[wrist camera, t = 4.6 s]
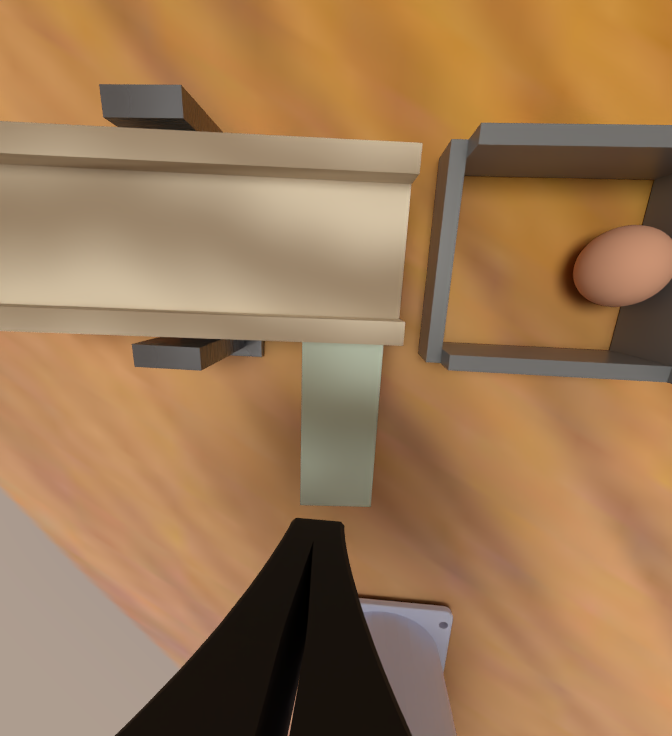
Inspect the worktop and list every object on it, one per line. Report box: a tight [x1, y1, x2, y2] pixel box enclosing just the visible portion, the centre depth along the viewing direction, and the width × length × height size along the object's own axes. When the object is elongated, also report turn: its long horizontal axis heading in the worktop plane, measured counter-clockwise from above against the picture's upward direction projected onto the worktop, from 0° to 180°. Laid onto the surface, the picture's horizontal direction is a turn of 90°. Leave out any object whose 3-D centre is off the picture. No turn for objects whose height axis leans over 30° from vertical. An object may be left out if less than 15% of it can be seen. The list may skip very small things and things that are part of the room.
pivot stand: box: [99, 84, 264, 370], centre depth 12 cm, size 9×4×5 cm, turn 178°
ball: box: [573, 225, 672, 307], centre depth 12 cm, size 3×3×3 cm
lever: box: [0, 121, 422, 507], centre depth 11 cm, size 13×16×2 cm
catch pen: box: [418, 123, 672, 384], centre depth 12 cm, size 8×9×4 cm
